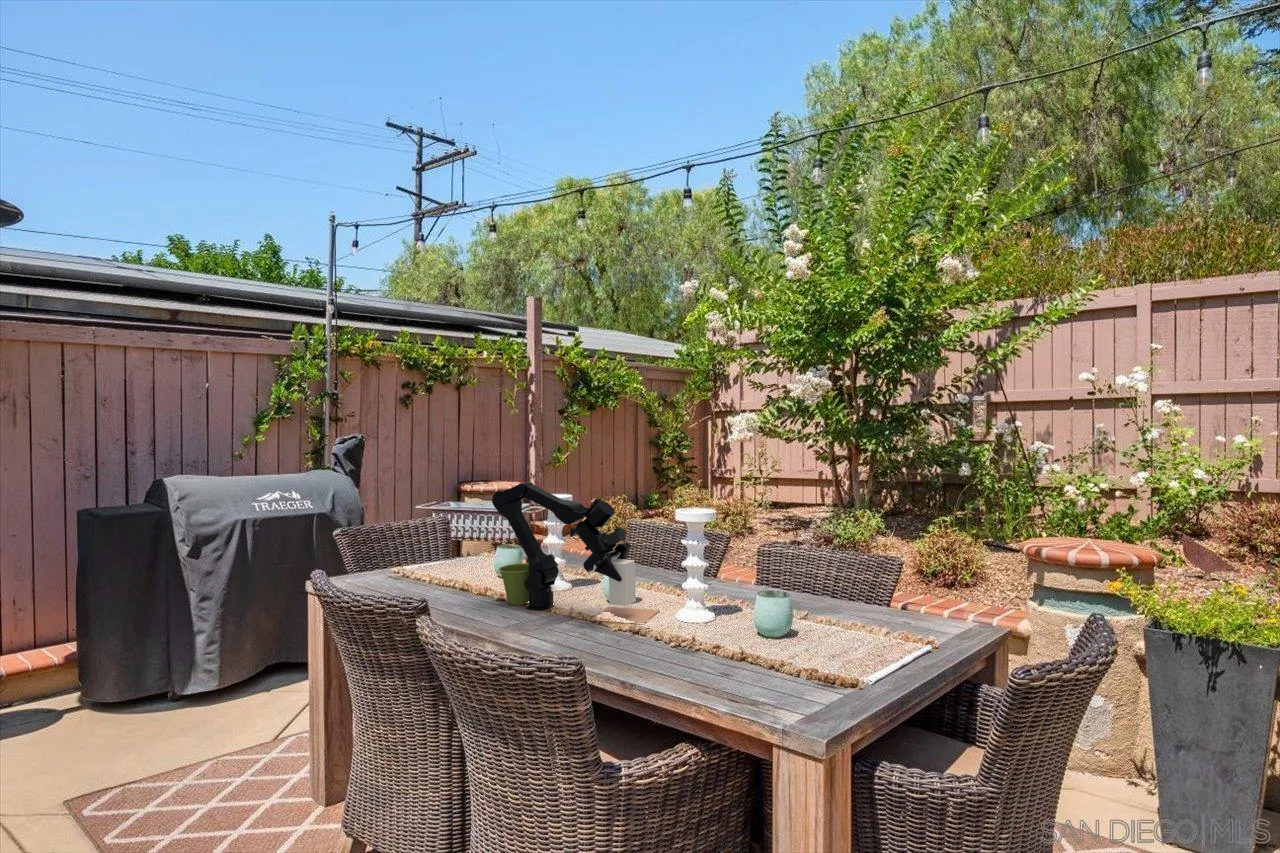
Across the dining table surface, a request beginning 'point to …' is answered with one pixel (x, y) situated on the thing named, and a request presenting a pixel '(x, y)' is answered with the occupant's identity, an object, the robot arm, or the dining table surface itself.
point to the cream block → (623, 583)
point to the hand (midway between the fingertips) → (626, 578)
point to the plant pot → (515, 582)
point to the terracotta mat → (631, 614)
